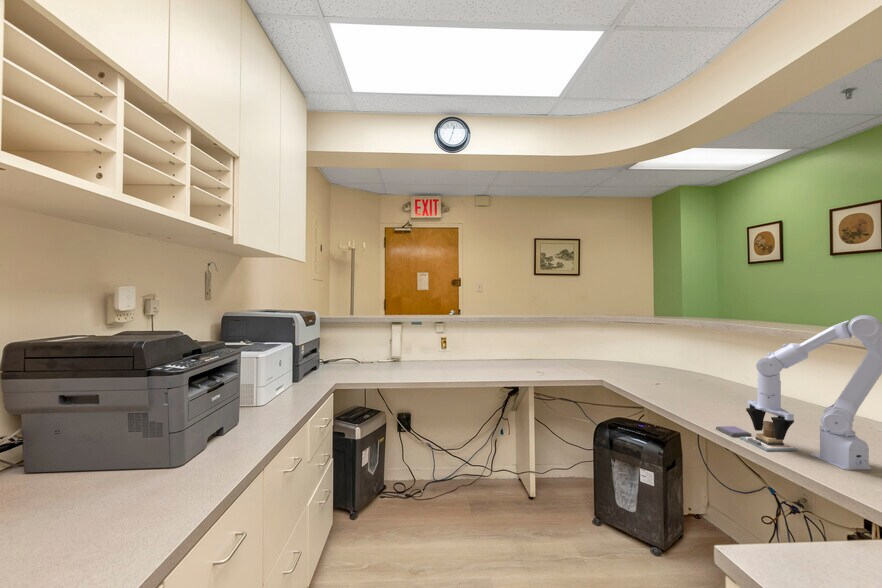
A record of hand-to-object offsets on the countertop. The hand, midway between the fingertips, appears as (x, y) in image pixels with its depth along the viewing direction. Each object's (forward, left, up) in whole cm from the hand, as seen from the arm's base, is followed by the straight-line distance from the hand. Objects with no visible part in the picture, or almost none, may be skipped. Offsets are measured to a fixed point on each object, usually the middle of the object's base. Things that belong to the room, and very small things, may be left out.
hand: (768, 434), depth 121 cm
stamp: (0, 0, -2) cm, 3 cm away
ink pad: (+10, +4, -3) cm, 11 cm away
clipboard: (0, 0, -3) cm, 3 cm away
